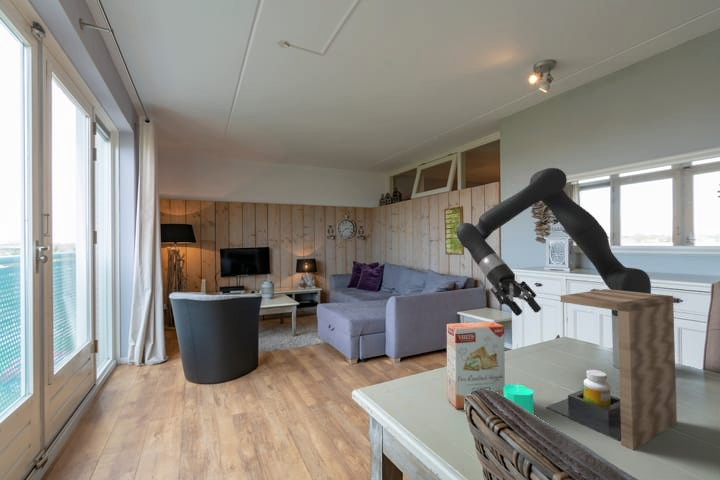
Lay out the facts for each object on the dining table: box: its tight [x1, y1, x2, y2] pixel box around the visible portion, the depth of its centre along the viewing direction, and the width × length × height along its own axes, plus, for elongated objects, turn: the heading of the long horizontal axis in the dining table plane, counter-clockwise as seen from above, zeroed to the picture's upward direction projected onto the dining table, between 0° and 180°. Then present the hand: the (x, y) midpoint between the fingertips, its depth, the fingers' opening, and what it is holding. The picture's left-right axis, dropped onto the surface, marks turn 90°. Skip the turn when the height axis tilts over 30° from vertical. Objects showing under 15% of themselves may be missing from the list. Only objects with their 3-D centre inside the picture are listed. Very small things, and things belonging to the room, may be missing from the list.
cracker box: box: [446, 321, 506, 410], centre depth 88 cm, size 14×6×21 cm, turn 99°
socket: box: [545, 388, 621, 442], centre depth 81 cm, size 16×16×4 cm
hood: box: [559, 288, 678, 451], centre depth 78 cm, size 20×14×30 cm
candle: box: [504, 383, 535, 415], centre depth 72 cm, size 6×6×12 cm
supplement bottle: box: [583, 369, 611, 407], centre depth 81 cm, size 5×5×10 cm
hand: (529, 312), depth 97 cm, fingers open, 8 cm apart
